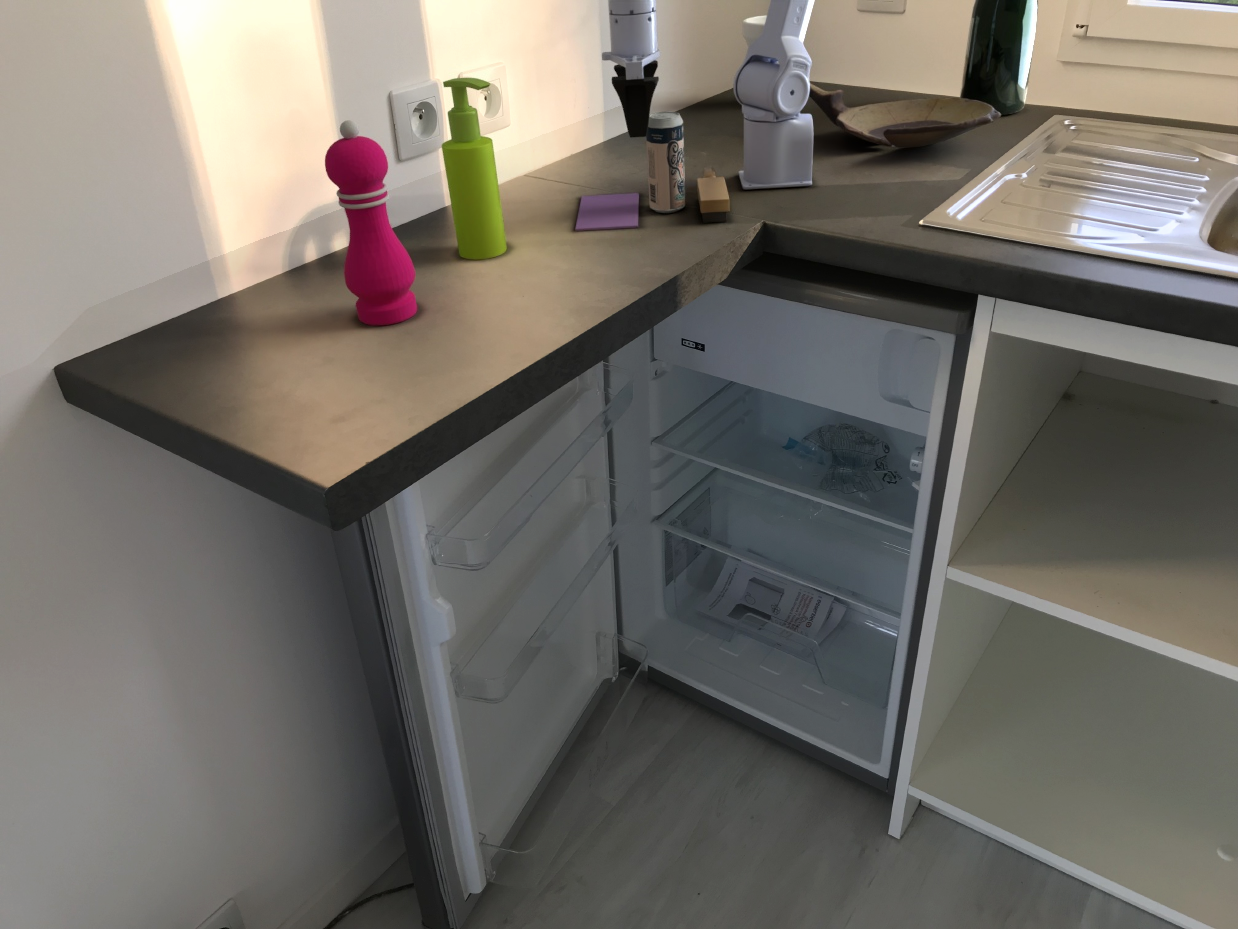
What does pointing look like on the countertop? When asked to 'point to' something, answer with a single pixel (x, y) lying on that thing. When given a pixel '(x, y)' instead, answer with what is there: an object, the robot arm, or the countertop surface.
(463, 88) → the soap dispenser
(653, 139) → the beer can
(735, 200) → the countertop surface
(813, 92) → the brown handled bowl
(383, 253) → the pepper mill
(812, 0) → the robot arm
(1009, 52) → the beer bottle
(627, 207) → the cloth
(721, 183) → the hand brush
